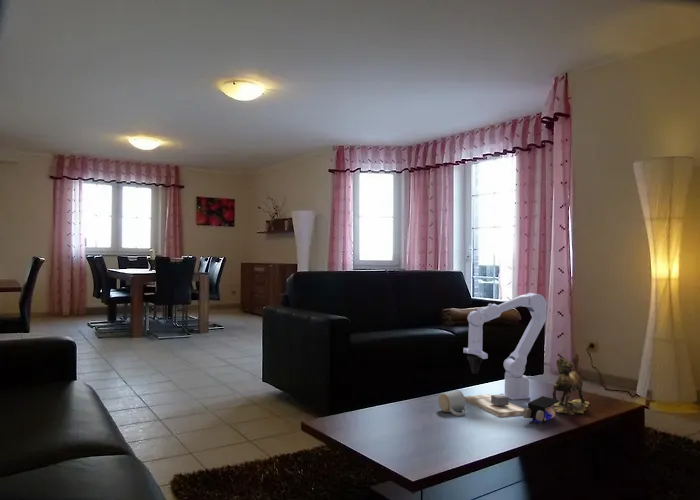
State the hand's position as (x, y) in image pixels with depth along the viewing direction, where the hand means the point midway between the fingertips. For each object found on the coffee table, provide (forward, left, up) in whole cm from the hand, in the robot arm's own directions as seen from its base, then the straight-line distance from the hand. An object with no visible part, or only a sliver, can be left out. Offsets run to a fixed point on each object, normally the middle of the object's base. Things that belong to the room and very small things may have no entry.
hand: (474, 373), depth 213 cm
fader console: (+2, +16, -9) cm, 19 cm away
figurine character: (-3, +36, -10) cm, 37 cm away
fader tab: (+2, +19, -7) cm, 21 cm away
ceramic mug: (+21, +18, -10) cm, 29 cm away
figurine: (-27, +25, -10) cm, 39 cm away
